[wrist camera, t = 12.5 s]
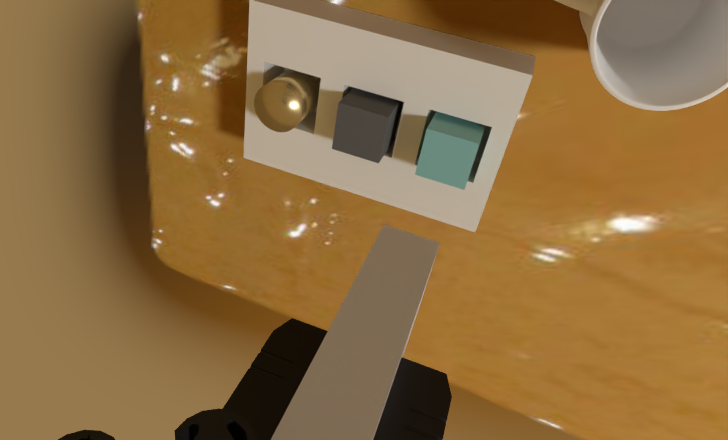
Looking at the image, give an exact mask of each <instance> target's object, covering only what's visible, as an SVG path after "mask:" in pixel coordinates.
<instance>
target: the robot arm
mask: <svg viewBox="0 0 728 440" xmlns="http://www.w3.org/2000/svg"><path fill="white" fill-rule="evenodd" d="M439 245H440V243H439V242H436V241H433V240H430V239H427V238H424V237H421V236H418V235H415V234H412V233H409V232H406V231H403V230H399V229H396V228H393V227H390V226H387V225H384V226H383V228H382V229H381V231H380V233H379V235H378V237H377V239H376V241H375V243H374V245H373V247H372V248H371V250H370V252H369V254H368V256H367V258H366V260H365V262H364V264H363V266H362V267H361V269H360V271H359V273H358V275H357V277H356V279H355V281H354V283H353V284H352V286H351V288H350V290H349V292H348V294H347V296H346V298H345V300H344V302H343V303H342V305H341V307H340V309H339V311H338V313H337V315H336V317H335V319H334V321H333V322H332V324H331V326H330V328H329V330H328V331H326V330H323V329H320V328H317V327H315V326H312V325H309V324H307V323H304V322H301V321H299V320H296V319H293V318H292V319H290V320H289V321H287V322H286V323H284V324H283V325H282V326H280V327H279V328H277V329H275V330H274V331H273V332H272V334H271V335H270V337H269V338H268V340H267V341H266V343H265V345H264V346H263V348H262V349H261V352H260V353H259V354H258V355H257V357H256V358H255V360H254V361H253V363H252V365H251V367H250V369H248V371H247V372H246V374H245V375H244V377H243V378H242V380H241V381H240V383H239V384H238V386H237V388H236V389H235V391H234V392H233V394H232V395H231V397H230V398H229V400H228V402H227V403H226V405H225V406H224V408H223V409H213V410H207V411H201V412H199V413H197V414H195V415H194V416H191V417H190V418H187V419H186V420H185V421H184V422H183V423H182V424H181V425H180V426H179V427H178V428H177V429H176V430H175V440H442V439H443V435H444V430H445V425H446V420H447V416H448V412H449V407H450V402H451V398H452V396H451V392H450V388H449V383H448V379H447V375H446V374H445V373H443V372H440V371H437V370H435V369H432V368H429V367H426V366H424V365H421V364H418V363H416V362H413V361H410V360H408V359H405V358H402V357H403V354H404V351H405V348H406V346H407V343H408V340H409V337H410V334H411V331H412V328H413V325H414V322H415V319H416V316H417V313H418V310H419V307H420V304H421V301H422V297H423V294H424V291H425V288H426V285H427V282H428V279H429V276H430V273H431V270H432V267H433V263H434V260H435V257H436V254H437V251H438V248H439ZM58 440H115V439H114V437H112V436H110V435H108V434H106V433H104V432H102V431H94V430H82V431H78V432H75V433H71V434H67V435H65V436H63V437H62V438H60V439H58Z"/></svg>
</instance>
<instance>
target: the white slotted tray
mask: <svg viewBox="0 0 728 440" xmlns="http://www.w3.org/2000/svg"><path fill="white" fill-rule="evenodd" d="M535 58H536V57H535V56H531V55H528V54H524V53H520V52H516V51H512V50H509V49H505V48H501V47H497V46H493V45H490V44H486V43H482V42H478V41H474V40H470V39H467V38H463V37H459V36H455V35H451V34H448V33H444V32H440V31H436V30H432V29H429V28H425V27H421V26H417V25H413V24H409V23H406V22H402V21H398V20H394V19H390V18H387V17H383V16H379V15H375V14H371V13H368V12H364V11H360V10H356V9H352V8H348V7H345V6H341V5H337V4H333V3H329V2H326V1H322V0H250V1H249V27H248V54H247V80H246V107H245V133H244V158H246V159H249V160H252V161H255V162H258V163H261V164H265V165H268V166H271V167H274V168H277V169H280V170H283V171H286V172H289V173H292V174H296V175H299V176H302V177H305V178H308V179H311V180H314V181H317V182H320V183H323V184H327V185H330V186H333V187H336V188H339V189H342V190H345V191H348V192H351V193H354V194H358V195H361V196H364V197H367V198H370V199H373V200H376V201H379V202H382V203H385V204H389V205H392V206H395V207H398V208H401V209H404V210H407V211H410V212H413V213H417V214H420V215H423V216H426V217H429V218H432V219H435V220H438V221H441V222H444V223H448V224H451V225H454V226H457V227H460V228H463V229H466V230H469V231H472V232H475V231H476V229H477V226H478V223H479V220H480V218H481V215H482V212H483V210H484V207H485V204H486V201H487V199H488V196H489V193H490V190H491V188H492V185H493V182H494V180H495V177H496V174H497V171H498V169H499V166H500V163H501V161H502V158H503V155H504V152H505V150H506V147H507V144H508V142H509V139H510V136H511V133H512V131H513V128H514V125H515V123H516V120H517V117H518V114H519V112H520V109H521V106H522V103H523V101H524V98H525V95H526V93H527V90H528V87H529V84H530V82H531V79H532V76H533V71H534V65H535ZM288 69H291V70H295V71H298V72H302V73H305V74H309V75H312V76H314V77H315V78H316V80H317V81H318V83H319V85H320V89H319V97H318V105H317V107H316V108H315V109H314V110H313V111H312V112H311V113H310V114H309V115H308V116H307V117H305V118H304V119H303V120H302V121H301V122H300V123H299V124H298V125H297V126H295V127H294V128H293V129H292V130H290V131H287V132H276V131H273V130H271V129H269V128H267V127H266V126H265V125H264V124H263V123H262V122H261V121H260V120H259V118H258V116H257V114H256V112H255V108H254V98H255V95H256V93H257V91H258V90H259V89H260V88H261V87H263V86H264V85H265V84H267V83H268V82H270V81H271V80H273V79H274V78H276V77H277V76H279V75H280V74H282V73H283V72H285V71H286V70H288ZM353 88H357V89H361V90H364V91H368V92H371V93H375V94H378V95H382V96H385V97H389V98H392V99H396V100H399V101H402V105H401V110H400V114H399V119H398V123H397V128H396V132H395V136H394V141H393V143H392V144H391V146H390V147H389V149H388V150H387V152H386V153H385V155H384V156H383V158H382V159H381V161H380V162H379V163H376V162H372V161H369V160H366V159H363V158H360V157H356V156H353V155H350V154H347V153H343V152H340V151H337V150H334V149H332V144H333V137H334V130H335V123H336V117H337V110H338V103H339V102H340V101H341V100H342V99H343V98H344V97H345V96H346V95H347V94H348V93H349V92H350V91H351V90H352V89H353ZM436 111H437V112H441V113H444V114H448V115H451V116H455V117H458V118H462V119H465V120H468V121H472V122H475V123H479V124H482V125H486V126H485V129H484V132H483V135H482V138H481V141H480V145H479V148H478V151H477V154H476V157H475V160H474V163H473V166H472V169H471V172H470V175H469V178H468V181H467V184H466V187H465V190H463V189H460V188H456V187H453V186H450V185H447V184H443V183H440V182H437V181H434V180H431V179H427V178H424V177H421V176H418V175H415V172H416V168H417V164H418V161H419V157H420V153H421V149H422V145H423V141H424V138H425V134H426V130H427V127H428V126H429V124H430V122H431V120H432V118H433V117H434V115H435V113H436Z"/></svg>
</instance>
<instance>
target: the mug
mask: <svg viewBox="0 0 728 440" xmlns="http://www.w3.org/2000/svg"><path fill="white" fill-rule="evenodd" d="M555 1H557V2H559V3H561V4H564V5H566V6H568V7H571V8H574V9H576V10H579V16H580V21H581V24H582V27H583V29H584V31H585V33H586V36H587V42H588V48H589V55H590V60H591V64H592V67H593V70H594V72H595V74H596V76H597V78H598V80H599V81H600V83H601V84H602V85H603V87H604V88H605V89H606V90H607V91H608V92H609V93H610V94H611V95H613V96H614V97H615V98H617V99H618V100H620V101H622V102H624V103H626V104H628V105H631V106H633V107H637V108H641V109H646V110H655V111H666V110H675V109H681V108H685V107H689V106H692V105H695V104H698V103H701V102H703V101H705V100H707V99H710V98H711V97H713V96H715V95H717V94H718V93H720V92H722V91H723V90H725V89H726V88H727V87H728V0H555Z"/></svg>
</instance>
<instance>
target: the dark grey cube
mask: <svg viewBox="0 0 728 440" xmlns="http://www.w3.org/2000/svg"><path fill="white" fill-rule="evenodd" d="M401 105H402V101H399V100H396V99H392V98H389V97H385V96H382V95H378V94H375V93H371V92H368V91H364V90H361V89H357V88H353V89H352V90H351V91H350V92H349V93H348V94H347V95H346V96H345V97H344V98H343V99H342V100H341V101H340V102H339V103H338V110H337V117H336V123H335V130H334V137H333V144H332V149H334V150H337V151H340V152H343V153H347V154H350V155H353V156H356V157H360V158H363V159H366V160H369V161H372V162H376V163H379V162H380V161H381V159H382V158H383V156H384V155H385V153H386V152H387V150H388V149H389V147H390V146H391V144H392V143H393V141H394V136H395V132H396V128H397V123H398V119H399V114H400V110H401Z"/></svg>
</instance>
